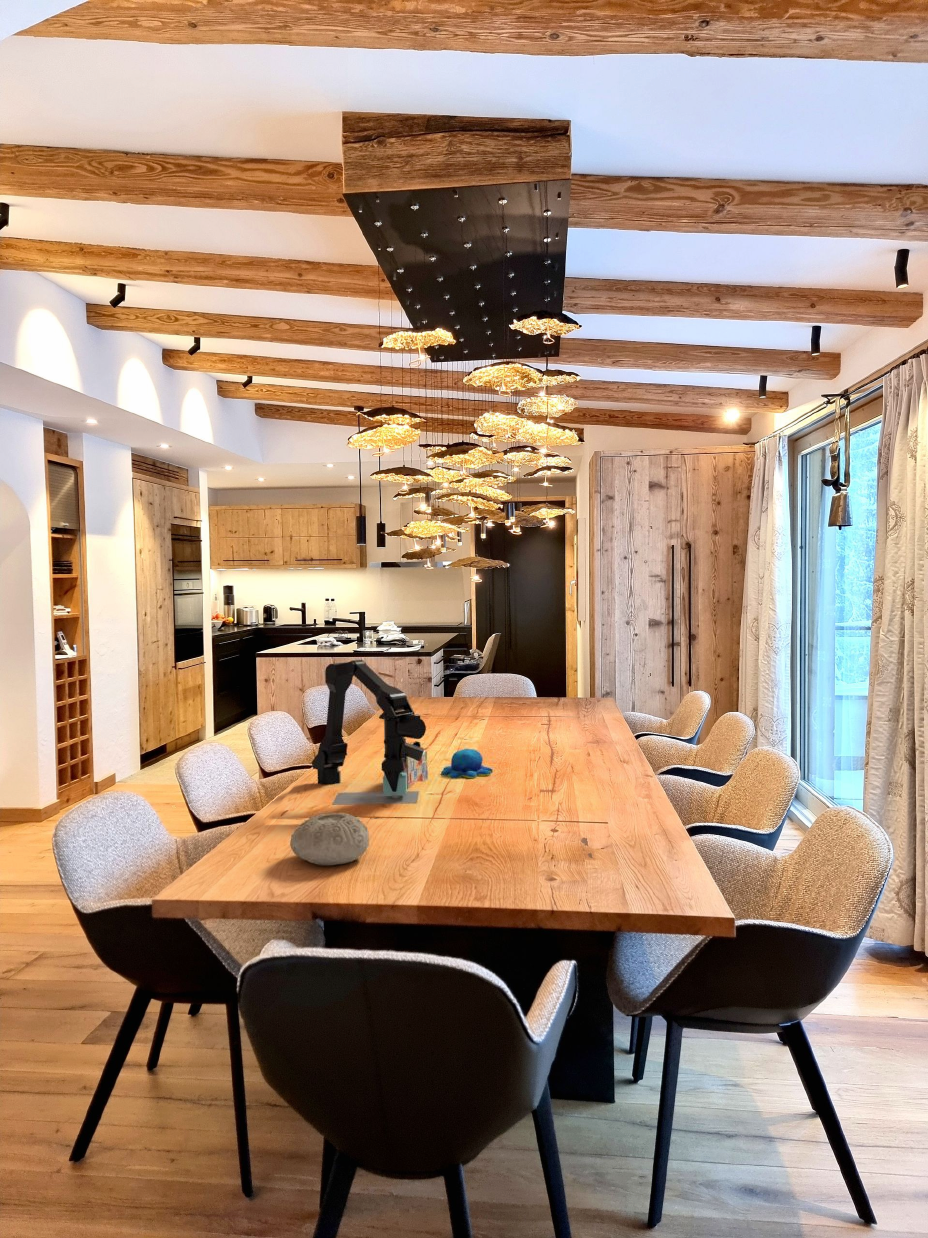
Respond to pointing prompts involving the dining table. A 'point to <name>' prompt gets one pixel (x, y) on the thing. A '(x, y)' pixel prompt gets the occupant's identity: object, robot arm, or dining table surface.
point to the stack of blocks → (415, 770)
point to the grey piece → (374, 798)
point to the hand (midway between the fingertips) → (395, 788)
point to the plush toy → (466, 765)
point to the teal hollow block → (400, 787)
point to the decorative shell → (330, 839)
